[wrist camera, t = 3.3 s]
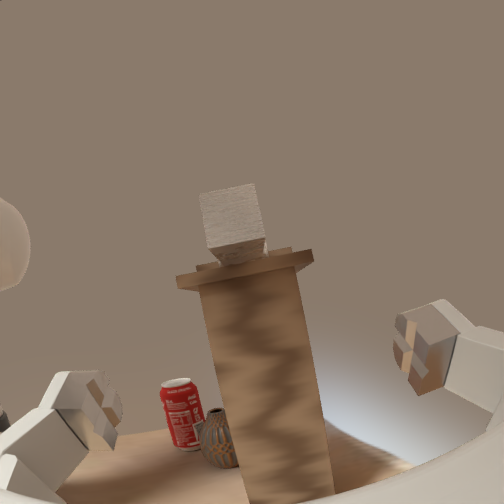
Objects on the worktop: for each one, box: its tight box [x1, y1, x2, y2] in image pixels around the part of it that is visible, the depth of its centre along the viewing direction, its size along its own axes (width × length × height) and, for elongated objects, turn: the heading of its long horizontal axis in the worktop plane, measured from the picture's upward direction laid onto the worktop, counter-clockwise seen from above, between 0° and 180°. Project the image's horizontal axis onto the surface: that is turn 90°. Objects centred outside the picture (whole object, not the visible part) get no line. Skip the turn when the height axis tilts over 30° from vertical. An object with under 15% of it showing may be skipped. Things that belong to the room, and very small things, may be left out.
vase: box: [199, 408, 239, 468], centre depth 40 cm, size 7×7×9 cm
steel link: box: [199, 183, 269, 267], centre depth 26 cm, size 5×18×4 cm, turn 0°
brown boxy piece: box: [176, 247, 335, 504], centre depth 30 cm, size 11×12×28 cm
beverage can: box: [160, 378, 205, 451], centre depth 48 cm, size 6×6×12 cm
